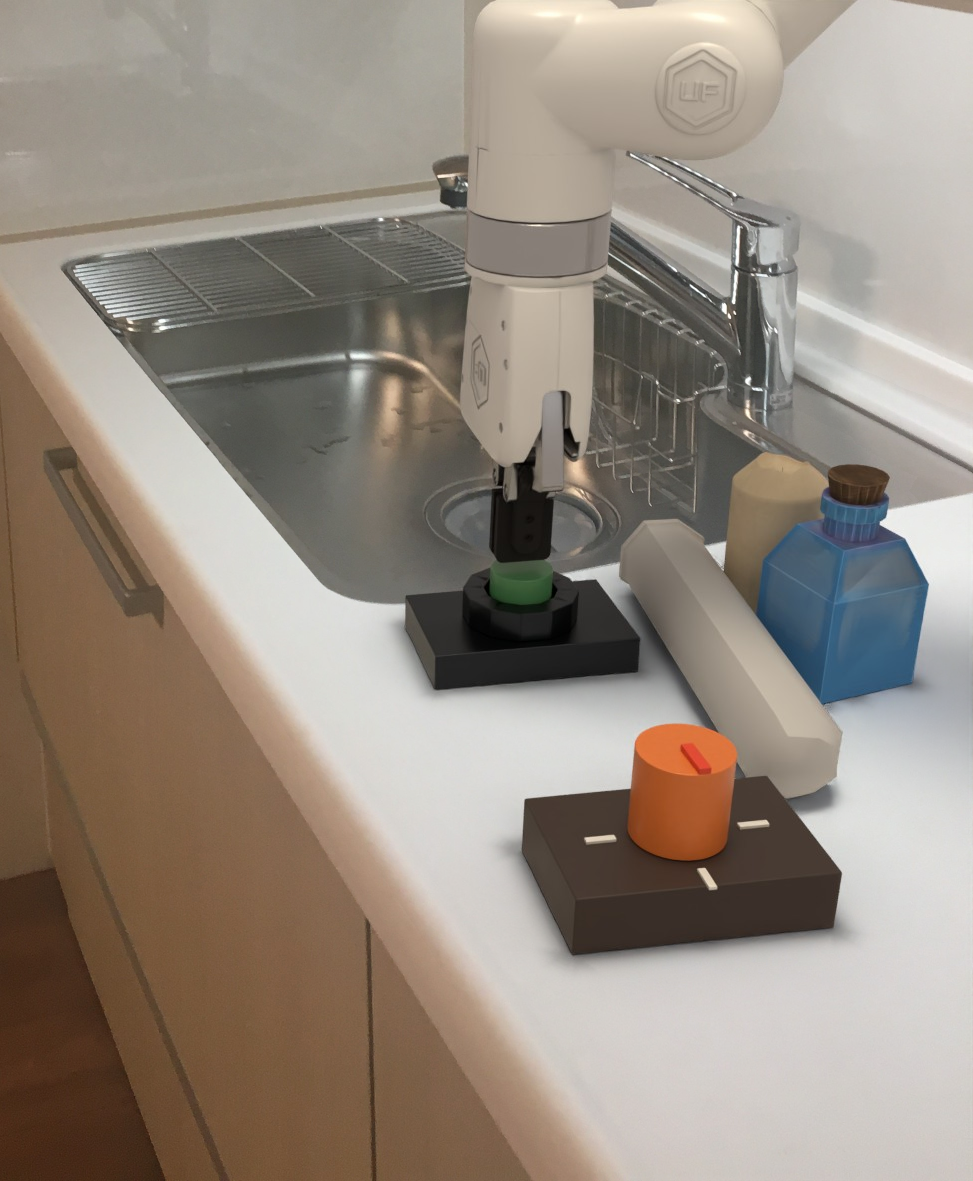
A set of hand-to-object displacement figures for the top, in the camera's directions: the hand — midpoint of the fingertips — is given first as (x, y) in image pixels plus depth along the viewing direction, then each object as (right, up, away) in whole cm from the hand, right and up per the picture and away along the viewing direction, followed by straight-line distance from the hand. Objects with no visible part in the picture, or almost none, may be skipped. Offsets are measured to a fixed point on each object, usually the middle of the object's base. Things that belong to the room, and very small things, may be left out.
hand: (519, 555), depth 94 cm
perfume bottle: (+18, -7, -1) cm, 19 cm away
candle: (+16, -3, +6) cm, 18 cm away
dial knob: (+3, -13, -20) cm, 24 cm away
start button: (0, -2, +1) cm, 3 cm away
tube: (+11, -8, -2) cm, 14 cm away
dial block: (+4, -16, -19) cm, 25 cm away
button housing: (0, -5, +3) cm, 6 cm away
